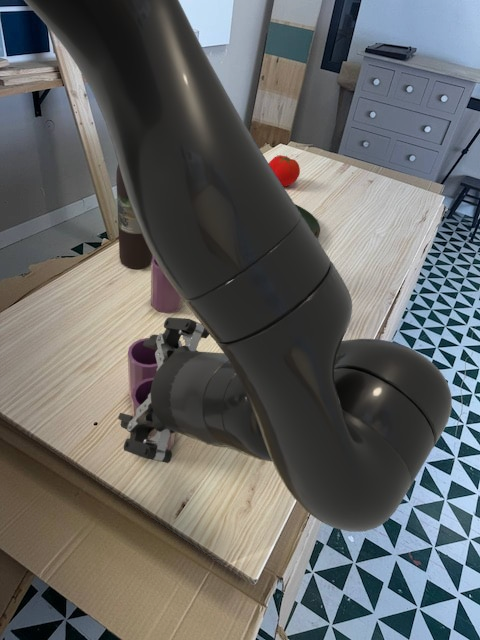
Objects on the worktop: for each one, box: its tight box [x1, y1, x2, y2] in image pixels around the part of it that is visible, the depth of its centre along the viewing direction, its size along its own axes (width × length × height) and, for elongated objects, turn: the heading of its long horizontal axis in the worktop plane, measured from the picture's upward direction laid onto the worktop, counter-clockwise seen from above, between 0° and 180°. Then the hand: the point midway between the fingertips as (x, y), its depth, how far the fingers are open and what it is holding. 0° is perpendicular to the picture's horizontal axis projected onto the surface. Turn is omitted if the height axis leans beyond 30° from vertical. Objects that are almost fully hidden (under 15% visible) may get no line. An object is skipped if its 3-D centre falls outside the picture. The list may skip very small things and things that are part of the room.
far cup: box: [150, 257, 183, 314], centre depth 89 cm, size 6×6×10 cm
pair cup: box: [127, 337, 158, 405], centre depth 71 cm, size 6×6×10 cm
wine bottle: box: [115, 163, 153, 270], centre depth 93 cm, size 7×7×30 cm
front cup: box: [131, 377, 176, 450], centre depth 65 cm, size 6×6×10 cm
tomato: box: [268, 154, 301, 187], centre depth 141 cm, size 9×10×8 cm
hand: (138, 381), depth 53 cm, fingers open, 8 cm apart
